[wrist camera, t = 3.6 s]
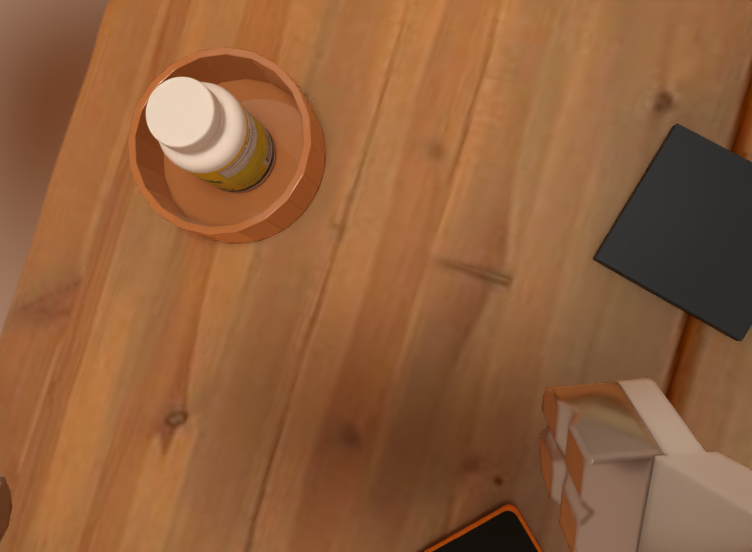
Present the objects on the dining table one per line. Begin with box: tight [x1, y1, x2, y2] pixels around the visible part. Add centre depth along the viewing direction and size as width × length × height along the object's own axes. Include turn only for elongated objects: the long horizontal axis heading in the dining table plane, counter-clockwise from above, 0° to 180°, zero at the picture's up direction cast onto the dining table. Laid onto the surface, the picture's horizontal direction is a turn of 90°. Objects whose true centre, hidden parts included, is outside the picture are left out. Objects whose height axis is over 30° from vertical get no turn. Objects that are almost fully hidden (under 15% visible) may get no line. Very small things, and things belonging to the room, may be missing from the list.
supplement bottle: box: [146, 77, 275, 193], centre depth 41 cm, size 5×5×10 cm
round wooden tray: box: [128, 47, 325, 243], centre depth 44 cm, size 12×12×4 cm
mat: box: [593, 124, 752, 341], centre depth 41 cm, size 10×10×1 cm
